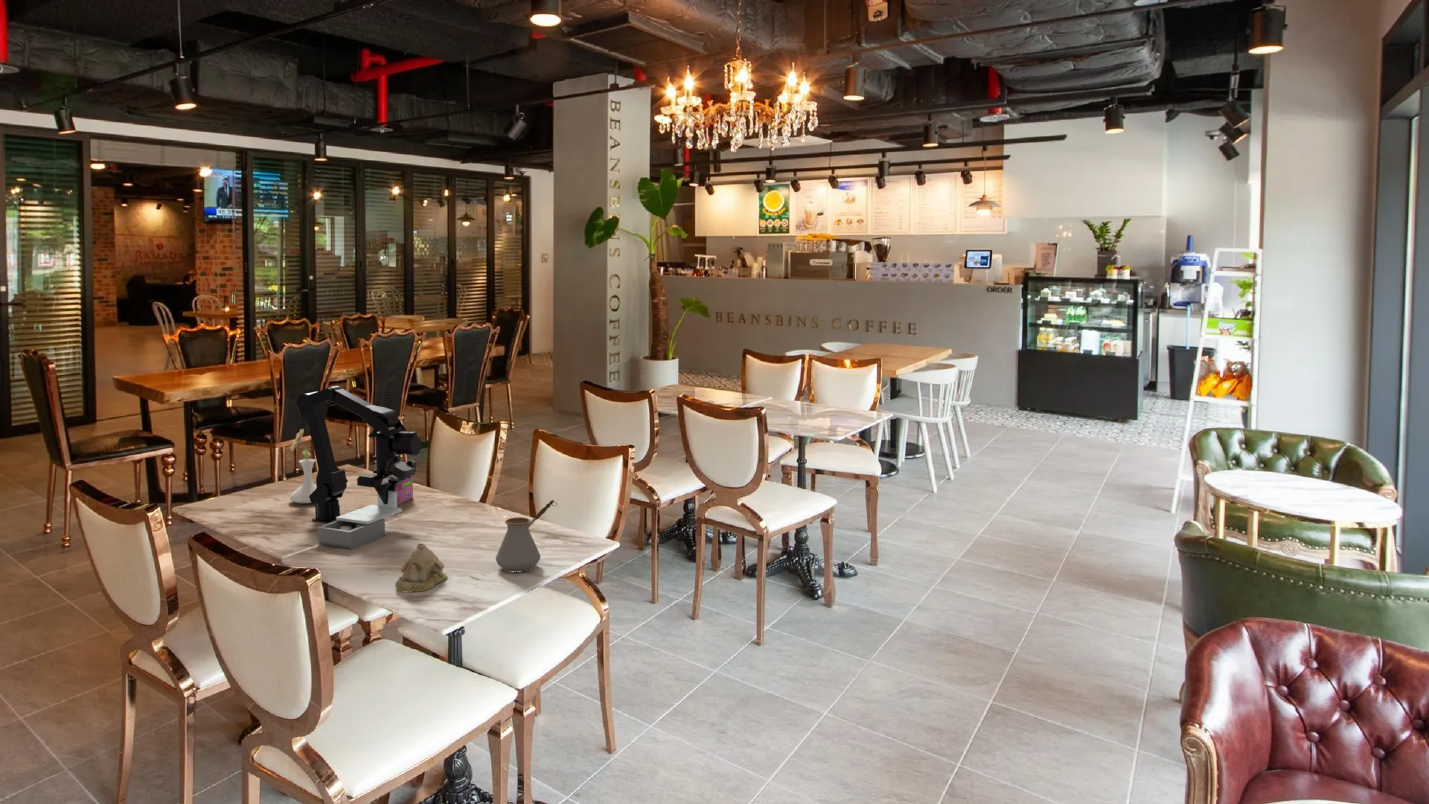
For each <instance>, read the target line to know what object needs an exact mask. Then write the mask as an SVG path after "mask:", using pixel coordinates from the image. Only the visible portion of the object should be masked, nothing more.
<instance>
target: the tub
mask: <svg viewBox="0 0 1429 804" xmlns="http://www.w3.org/2000/svg"><path fill="white" fill-rule="evenodd" d="M317 531H318V532H317V535H318V546H324V545H326V546H325V547H331V548H339V549H343V548H345V549H344V550H353V549H356V548H358V547H360V545H361V546H363V545H365V544H369V543H370V542H373V541H375V539H376V540H378V539H380V538H383V537H385V536H386V520H385V518H383V519H381V520H378V521H375V522H373V523H370V524H361V523H354V522H347V521H341V520H335V521H333V522H330V523H325V524H323V525H321V526H318V527H317Z"/></svg>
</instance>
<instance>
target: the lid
mask: <svg viewBox="0 0 1429 804" xmlns="http://www.w3.org/2000/svg"><path fill="white" fill-rule="evenodd" d="M401 512H403V509H402V508H398V505H397V492H396V491H389V490H388V503H387V504H384V503H383V502H382V500H381V498H380V496H379V495H378V494H377V505H376V504H370V505H366V506H364V507H361V508H358V509H356V510H352V511H350V512H346V513H344V514H340V516H338V517H336V520H335V521H337V520H341V521H347V522H354V523H361V524H370V523H373V522H375V521H378V520H381V519H385V518H388V517H391V516H393V515H396V514H399V513H401Z"/></svg>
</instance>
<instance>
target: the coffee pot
mask: <svg viewBox="0 0 1429 804" xmlns="http://www.w3.org/2000/svg"><path fill="white" fill-rule="evenodd" d="M554 503H555V505H553V504H554ZM551 506H553V507H557V506H558V503H557V502H556V501H554V499H552V500H550V501H549V502H548V503H546V505H545V506H544V507H543V508H541V509H540V510H539V512H537V514H536V515H535V516H534V517H533V519H530V518H528V517H518V516H517V517H511V518H506V519H505V522H504V523H505V524H506V525H507V530H506V533H505V534H504V537H503V539H502V542H501V544H500V547H499V549H498V551H497V553H496V556H495V562H496V563H497V565H498V566H499V567H500V568H501V569H503V568H504V569H503V571H505V570H506V571H505V572H507V571H514V572H515V571H516V572H517V571H526V572H528V571H527V570H529V569H531V568H532V567H533V568H534V567H535V566H536V565H537V564H538V563H539V562H540V560H541V554H540V552H539V549H538V547H537V545H536V543H535V541H534V538H533V536H532V534H531V532H530V530H529V528H531V526H532V525H533V524H534V523H535V522H536V521H537V520H538V519H539V518H540V517H541V516H543V515H544V514H545V513H546V511H548V509H549V508H551ZM533 568H532V569H533ZM532 569H531V570H532ZM529 571H530V570H529ZM514 572H513V573H514Z"/></svg>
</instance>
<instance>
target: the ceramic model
mask: <svg viewBox="0 0 1429 804" xmlns="http://www.w3.org/2000/svg"><path fill="white" fill-rule="evenodd" d="M444 568H445V565H444V563H443V562H441V561H440V560H439V557H438V556H437V555H436V554H435V553H434V552H433V551H432V550H430V549H429V548H428V546H426V545H425V543H417V545H416V548H415V549H414V551H412V553H411V554H410V555H409V556H408V557H406V559H405V561H404V563H403V564H402V565H401V568H400V572H401V573H402V575H401V576H398V578H397V580H396V581H395V588H396V590H397V591H398V592H400V591H416V592H422V591H425V590H430V589H431V588H433V587H434V585H437V584H438V583H439V584H440V582H443V581H444V580H446V579H447V578H448V574H447V575H446V574H445V573H444V572H443V569H444Z"/></svg>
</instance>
